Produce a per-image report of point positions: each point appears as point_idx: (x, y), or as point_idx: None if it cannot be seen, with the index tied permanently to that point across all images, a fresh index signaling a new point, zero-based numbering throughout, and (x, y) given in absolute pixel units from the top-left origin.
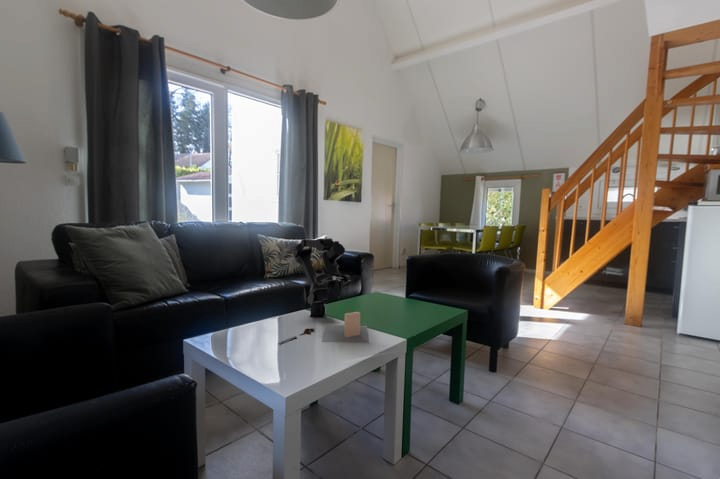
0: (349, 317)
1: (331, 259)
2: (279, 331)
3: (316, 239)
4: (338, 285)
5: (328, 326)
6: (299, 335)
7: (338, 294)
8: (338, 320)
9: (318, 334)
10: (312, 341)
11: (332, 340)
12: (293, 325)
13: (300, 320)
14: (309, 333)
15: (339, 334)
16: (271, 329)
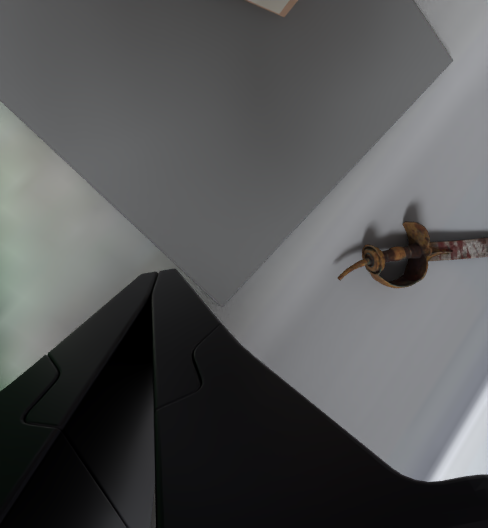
0: None
1: None
2: (474, 395)
3: None
4: (194, 385)
5: (228, 263)
6: (467, 244)
7: (185, 282)
8: (25, 365)
9: (361, 200)
10: (458, 128)
11: (398, 18)
12: None
13: None
14: (417, 225)
15: (288, 66)
16: (481, 450)
